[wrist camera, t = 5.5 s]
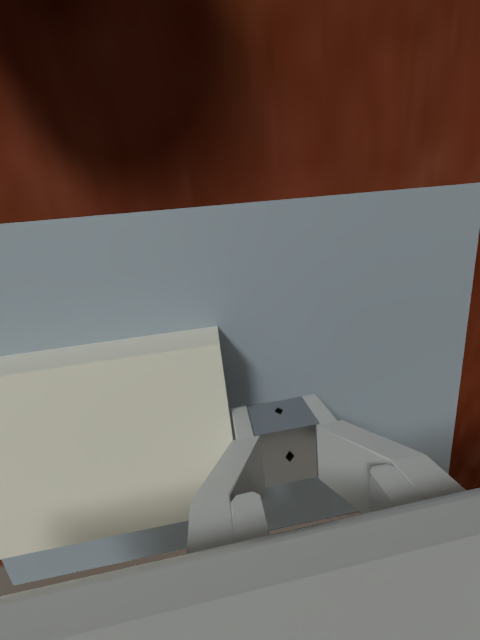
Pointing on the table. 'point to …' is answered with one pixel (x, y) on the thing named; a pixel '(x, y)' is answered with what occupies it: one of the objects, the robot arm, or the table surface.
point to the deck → (264, 318)
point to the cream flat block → (108, 437)
